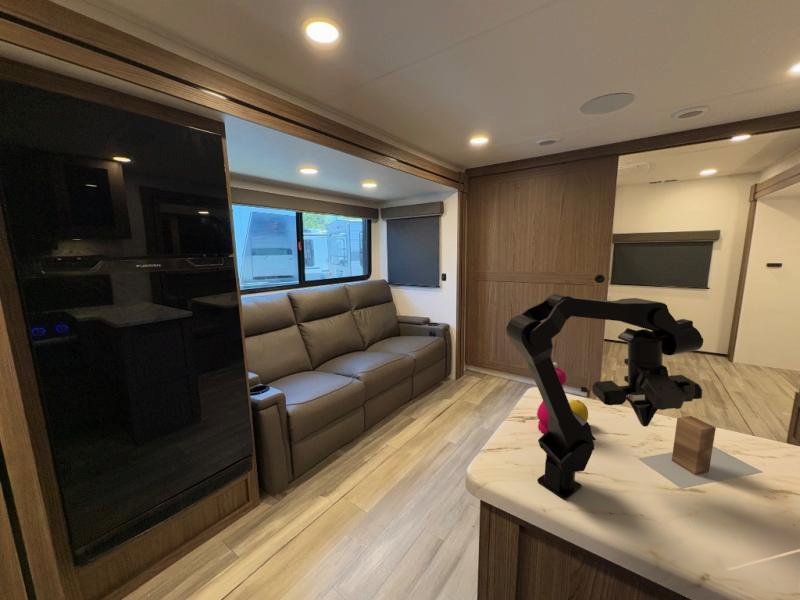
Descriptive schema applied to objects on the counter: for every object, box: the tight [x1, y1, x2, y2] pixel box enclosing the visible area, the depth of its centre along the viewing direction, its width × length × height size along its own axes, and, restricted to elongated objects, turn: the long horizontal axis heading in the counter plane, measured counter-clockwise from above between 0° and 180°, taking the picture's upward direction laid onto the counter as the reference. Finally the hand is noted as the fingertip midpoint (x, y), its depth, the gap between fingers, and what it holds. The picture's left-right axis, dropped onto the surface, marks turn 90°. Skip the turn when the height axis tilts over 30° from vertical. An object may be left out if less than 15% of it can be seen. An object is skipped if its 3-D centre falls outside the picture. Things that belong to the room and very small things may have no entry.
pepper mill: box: [536, 361, 567, 435], centre depth 88 cm, size 7×7×20 cm
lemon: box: [569, 399, 589, 422], centre depth 91 cm, size 6×6×8 cm
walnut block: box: [672, 415, 717, 475], centre depth 73 cm, size 4×5×11 cm
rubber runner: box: [636, 445, 763, 489], centre depth 74 cm, size 23×10×1 cm, turn 102°
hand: (644, 425), depth 69 cm, fingers closed
